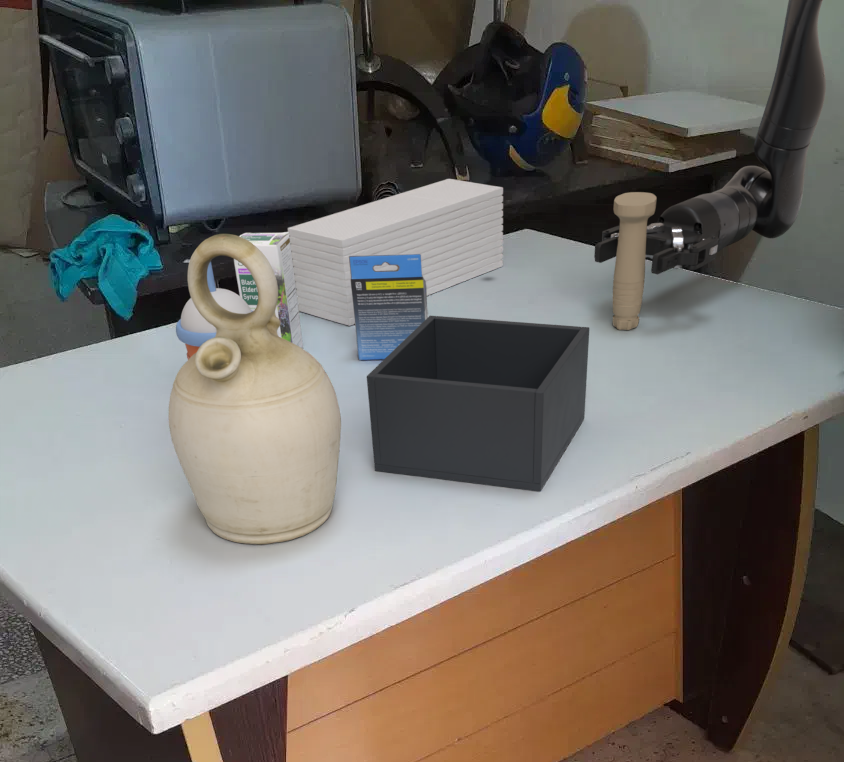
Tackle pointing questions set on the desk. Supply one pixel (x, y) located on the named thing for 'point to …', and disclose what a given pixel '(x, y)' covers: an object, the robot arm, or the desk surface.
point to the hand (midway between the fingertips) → (625, 259)
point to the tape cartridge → (386, 302)
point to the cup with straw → (198, 329)
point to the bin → (479, 401)
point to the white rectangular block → (399, 242)
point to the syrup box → (281, 262)
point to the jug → (253, 414)
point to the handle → (630, 256)
